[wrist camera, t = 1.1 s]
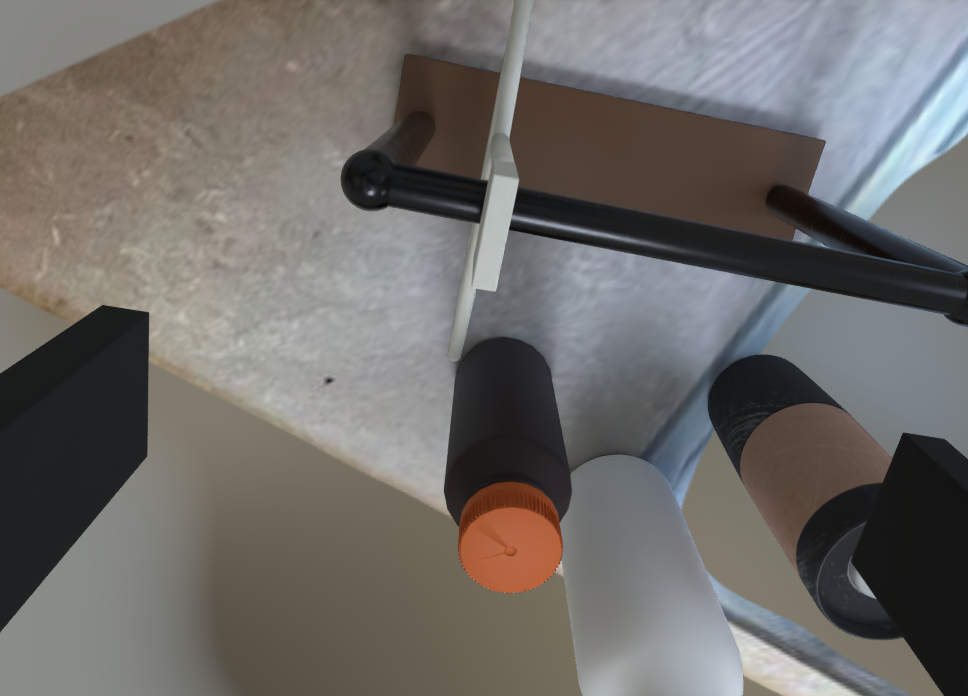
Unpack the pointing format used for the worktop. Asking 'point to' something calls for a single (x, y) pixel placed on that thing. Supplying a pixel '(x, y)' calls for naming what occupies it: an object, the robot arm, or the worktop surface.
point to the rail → (642, 186)
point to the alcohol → (640, 589)
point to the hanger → (494, 186)
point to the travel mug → (806, 480)
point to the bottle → (507, 467)
